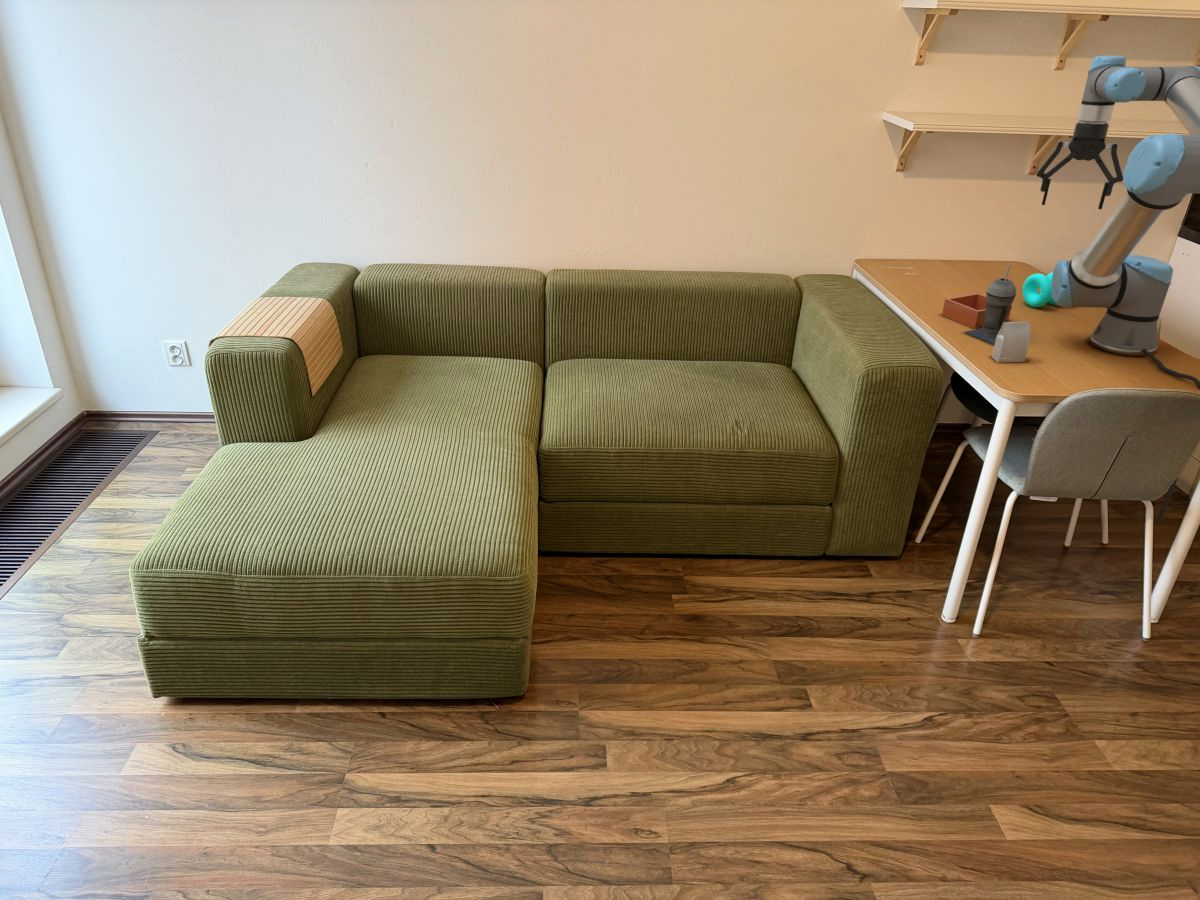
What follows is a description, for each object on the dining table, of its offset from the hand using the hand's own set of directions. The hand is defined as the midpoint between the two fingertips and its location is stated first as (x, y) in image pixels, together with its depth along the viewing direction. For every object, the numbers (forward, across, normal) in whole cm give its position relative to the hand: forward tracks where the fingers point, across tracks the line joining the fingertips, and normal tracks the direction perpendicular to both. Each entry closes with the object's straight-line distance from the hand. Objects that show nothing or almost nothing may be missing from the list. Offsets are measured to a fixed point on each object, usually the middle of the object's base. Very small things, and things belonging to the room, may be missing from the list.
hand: (1071, 206), depth 217 cm
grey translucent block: (+32, +6, +38) cm, 50 cm away
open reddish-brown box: (+32, +17, +9) cm, 37 cm away
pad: (+32, +12, +22) cm, 41 cm away
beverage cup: (+31, +12, +22) cm, 40 cm away
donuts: (+32, 0, -12) cm, 34 cm away
